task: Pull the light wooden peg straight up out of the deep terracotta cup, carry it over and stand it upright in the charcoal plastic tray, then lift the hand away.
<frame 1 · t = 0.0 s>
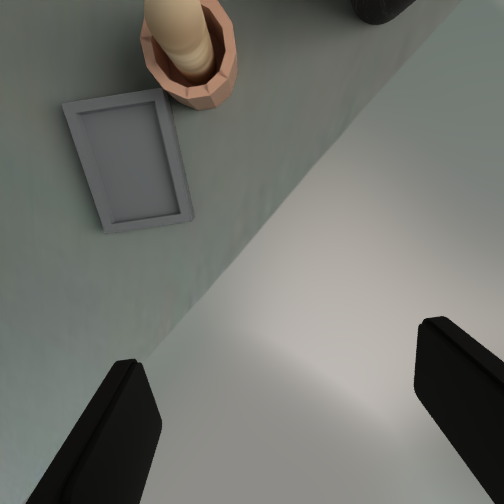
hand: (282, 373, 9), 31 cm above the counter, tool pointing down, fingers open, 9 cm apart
cup: (199, 68, 33), on the counter
tray: (138, 166, 36), on the counter
peg: (198, 65, 32), point 1 cm above the counter, touching cup
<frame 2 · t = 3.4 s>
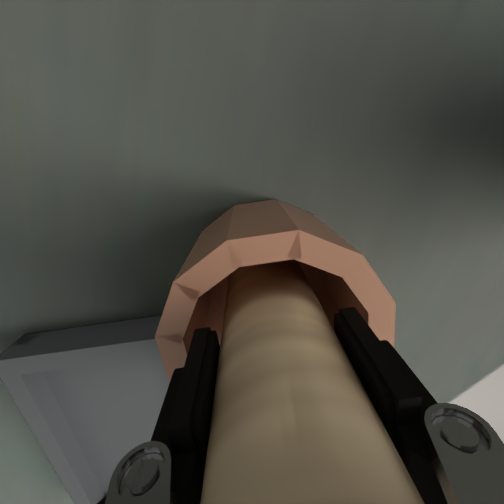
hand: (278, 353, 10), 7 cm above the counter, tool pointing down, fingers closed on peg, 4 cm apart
cup: (264, 272, 17), on the counter
tray: (145, 410, 20), on the counter
peg: (265, 279, 16), point 1 cm above the counter, touching cup, gripper
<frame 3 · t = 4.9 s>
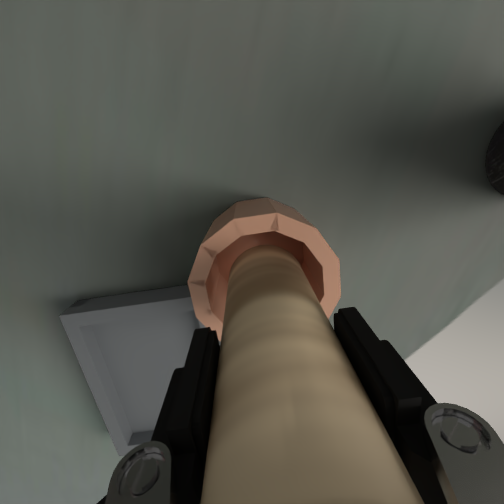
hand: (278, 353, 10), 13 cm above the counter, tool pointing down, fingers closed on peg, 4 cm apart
cup: (259, 252, 23), on the counter
tray: (166, 364, 26), on the counter
peg: (265, 279, 16), point 7 cm above the counter, touching gripper
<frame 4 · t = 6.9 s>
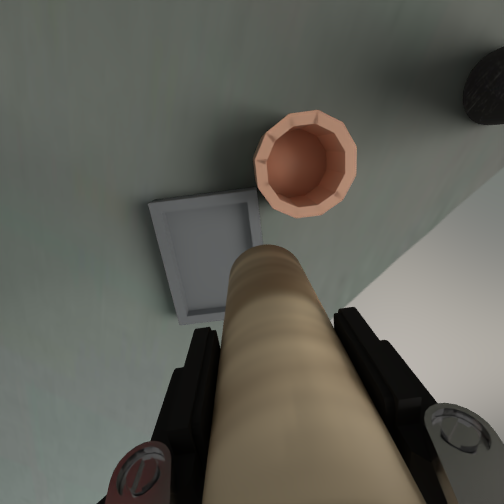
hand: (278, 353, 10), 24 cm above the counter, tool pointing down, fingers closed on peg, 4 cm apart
travel mug: (494, 88, 28), on the counter
cup: (293, 164, 30), on the counter
tray: (216, 256, 34), on the counter
peg: (266, 279, 16), point 18 cm above the counter, touching gripper
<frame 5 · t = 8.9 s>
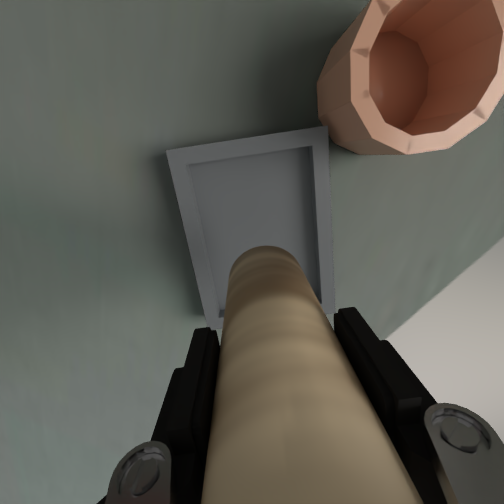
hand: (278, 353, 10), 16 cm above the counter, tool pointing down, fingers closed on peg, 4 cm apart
cup: (374, 92, 21), on the counter
tray: (258, 232, 25), on the counter
peg: (265, 280, 16), point 9 cm above the counter, touching gripper
when the fingers open (9 cm above the counter, at t = 10.4 s): peg drops 2 cm, resting on tray.
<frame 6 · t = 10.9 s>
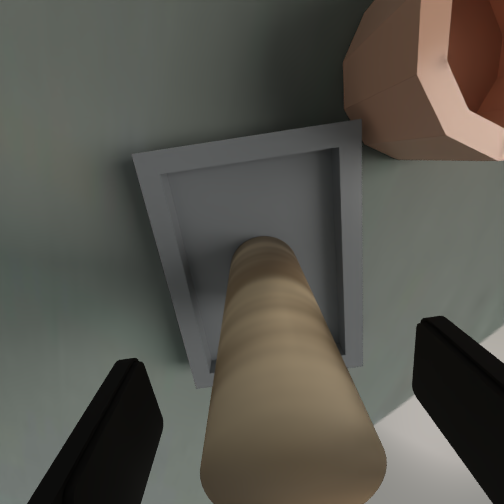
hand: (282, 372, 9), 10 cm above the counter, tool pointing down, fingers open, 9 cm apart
cup: (422, 74, 15), on the counter
tray: (262, 261, 19), on the counter
peg: (264, 268, 18), point 1 cm above the counter, touching tray
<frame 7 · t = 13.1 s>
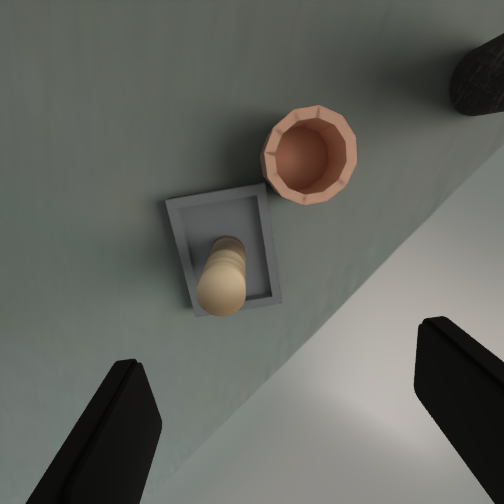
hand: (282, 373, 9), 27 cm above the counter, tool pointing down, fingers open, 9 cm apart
travel mug: (478, 83, 31), on the counter
cup: (297, 159, 33), on the counter
tray: (228, 249, 36), on the counter
peg: (228, 251, 35), point 1 cm above the counter, touching tray
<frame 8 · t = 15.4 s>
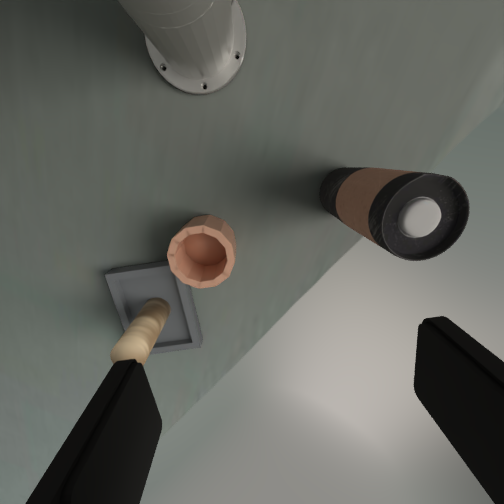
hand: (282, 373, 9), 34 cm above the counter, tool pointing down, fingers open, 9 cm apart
travel mug: (341, 191, 41), on the counter
cup: (207, 242, 43), on the counter
tray: (159, 305, 47), on the counter
peg: (157, 309, 46), point 1 cm above the counter, touching tray
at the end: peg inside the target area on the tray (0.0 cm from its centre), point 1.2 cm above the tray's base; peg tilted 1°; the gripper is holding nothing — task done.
